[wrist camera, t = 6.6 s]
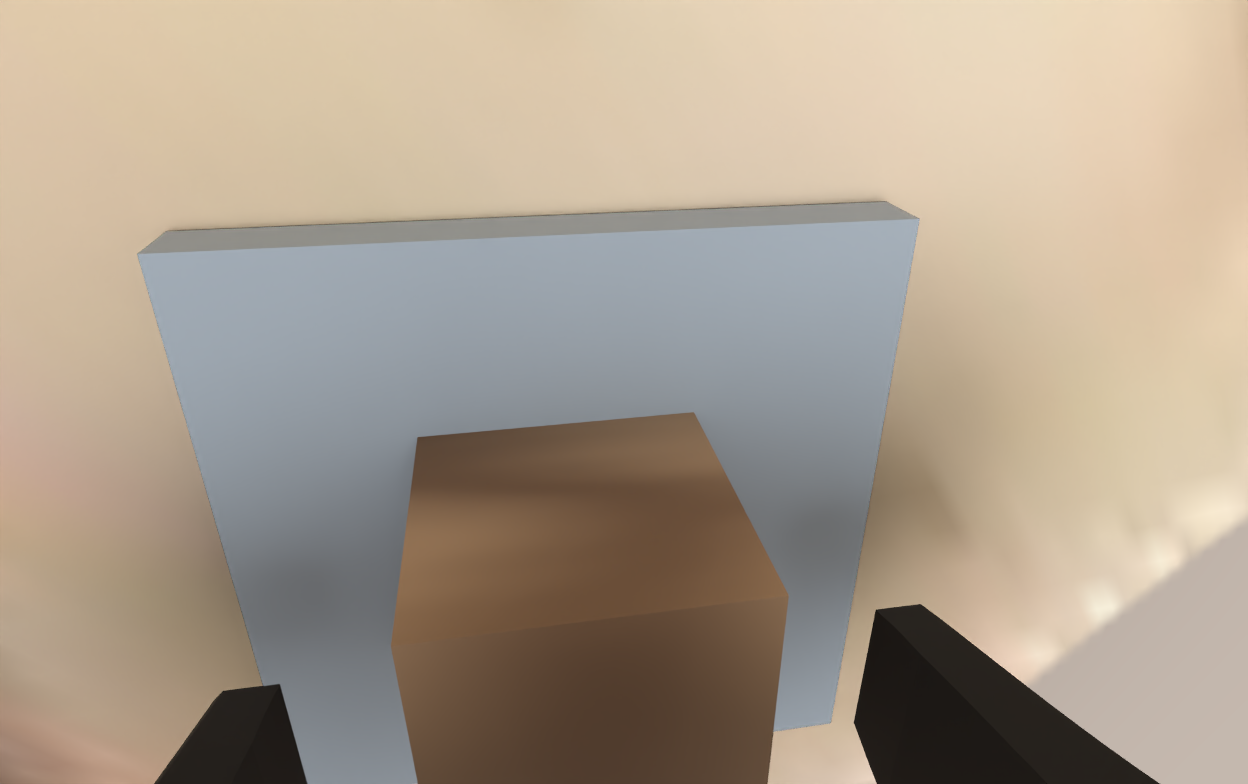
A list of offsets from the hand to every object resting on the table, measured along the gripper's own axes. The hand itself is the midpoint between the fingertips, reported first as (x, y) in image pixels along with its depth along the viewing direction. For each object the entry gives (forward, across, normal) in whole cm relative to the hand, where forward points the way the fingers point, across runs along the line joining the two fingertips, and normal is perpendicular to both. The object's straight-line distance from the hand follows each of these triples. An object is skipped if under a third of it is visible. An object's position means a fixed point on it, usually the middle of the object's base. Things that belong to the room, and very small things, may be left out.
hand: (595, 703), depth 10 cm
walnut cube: (+3, 0, 0) cm, 3 cm away
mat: (+4, 0, 0) cm, 4 cm away
